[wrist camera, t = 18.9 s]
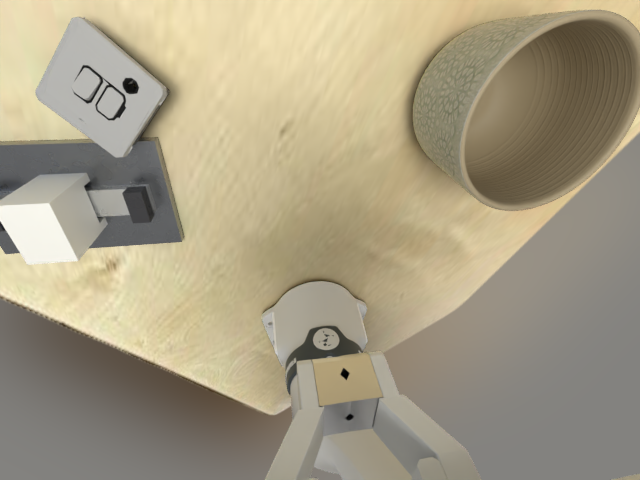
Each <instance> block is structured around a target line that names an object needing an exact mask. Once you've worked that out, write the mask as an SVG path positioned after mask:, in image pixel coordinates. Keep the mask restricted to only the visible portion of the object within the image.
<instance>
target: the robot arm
mask: <svg viewBox="0 0 640 480" xmlns="http://www.w3.org/2000/svg"><path fill="white" fill-rule="evenodd" d="M366 311H367V307H366V304H365V303H364V302H363V301H361V300H358V299H356V298H354V297H353V296H352V295H351V294H350V293H349V291H348V290H346V289H345V288H344V287H342V286H340V285H338V284H335V283H331V282H325V281H316V282H309V283H305V284H302V285H299V286H297V287H295V288H293V289H291V290H290V291H288V292H287V293H286V294H284V295H283V296H282V297H281V299H280V300H279V301H278V302H277V304H276V305H275V306H274V307H272V308H270V309H268V310H267V311H265V312H264V313H263V314H262V322H263V324H264V327H265V329H266V331H267V334H268V336H269V339H270V341H271V343H272V346H273V348H274V350H275V353H276V355H277V357H278V360H279V362H280V364H281V366H283V367H284V369H285V371H286V373H285V379H286V385H287V389H288V392H289V394H290V395H291V406H292V419H293V421H292V423H291V425H290V427H289V429H288V431H287V433H286V435H285V438H284V440H283V442H282V444H281V446H280V448H279V450H278V453H277V455H276V457H275V459H274V461H273V463H272V465H271V468H270V470H269V472H268V474H267V476H266V478H265V480H319V479H318V478H311V479H309V478H310V475H311V472H312V470H313V467H315V468H318V469H320V470H323V471H327V472H330V473H335V474H340V475H341V478H342V480H481V478H480V475H479V474H478V472H477V469H476V467H475V465H474V463H473V461H472V459H471V457H470V455H469V453H468V451H467V450H466V449H465V448H464V447H463V446H462V445H461V444H460V443H458V442H457V441H456V440H455V439H454V438H453V437H451V435H449V434H448V433H447V432H446V431H444V429H443V428H441V427H440V426H439V425H438V424H437V423H436V422H435V421H433V420H432V419H431V418H430V417H429V416H428V415H427V414H425V413H424V412H423V411H422V410H421V409H420V408H418V406H416V405H415V404H414V403H413V402H412V401H411V400H410V399H408V398H407V397H406V396H405V395H400V394H399V392H398V389H397V386H396V384H395V381H394V379H393V376H392V373H391V371H390V368H389V366H388V363H387V361H386V358H385V355H384V353H383V352H382V351H375V352H368V353H367V352H364V353H363V350H364V349H365V346H366V343H367V342H368V339H367V335H366V331H365V327H364V324H363V319H364V316H365V314H366ZM612 480H640V474H636V475H632V476H626V477H622V478H617V479H612Z"/></svg>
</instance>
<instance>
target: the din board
mask: <svg viewBox="0 0 640 480" xmlns="http://www.w3.org/2000/svg"><path fill="white" fill-rule="evenodd" d="M132 147H133V148H132V149H131V151H130V152H129V154H128V155H127V156H126V157H117V158H116V157H114V156H113V155H112V154H110V153H109V152H108V151H106V150H105V149H104V148H102V147H101V146H100V145H98V144H97V143H96V142H94V141H93V140H92V139H78V140H40V141H2V142H0V200H1V199H3V198H4V197H6V196H7V195H9V194H11V193H12V192H14V191H15V190H17V189H18V188H20V187H22V186H23V185H25V184H26V183H28V182H29V181H31V180H32V179H34V178H36V177H37V176H39V175H45V174H71V173H87V175H88V177H89V179H90V181H89V182H88V183H87V184H86V185H85V186H84V188H85V190H86V192H87V195H88V197H89V199H90V202H91V204H92V206H93V209H94V211H95V213H96V216H97V218H102V217H105V218H106V221H107V223H108V225H107V226H106V227H105V228H104V229H103V231H102V232H101V233H100V234H99V236H98V237H97V238H96V239H95V241H94V242H93V243H92V244H91V246H90V247H89V248H99V247H113V246H128V245H142V244H157V243H171V242H182V240H183V238H184V234H183V230H182V226H181V222H180V219H179V215H178V211H177V207H176V204H175V200H174V196H173V192H172V188H171V185H170V181H169V177H168V173H167V170H166V166H165V162H164V158H163V154H162V151H161V147H160V143H159V139H158V137H154V138H139V140H138V141H137V143H136V144H135V145H133V146H132ZM0 246H1V248H2V249H3V251H4V252H5V254H13V253H20V252H19V250H18V249H17V247H16V246H15V244H14V242H13V241H12V239H11V238H10V236H9V234H8V233H7V231H6V230H5V228H4V226H3V225H2V223H1V222H0Z"/></svg>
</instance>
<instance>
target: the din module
mask: <svg viewBox="0 0 640 480" xmlns="http://www.w3.org/2000/svg"><path fill="white" fill-rule="evenodd" d="M89 181H90V179H89V177H88V175H87V173H71V174H45V175H39V176H37V177H36V178H34V179H32V180H31V181H29V182H28V183H26V184H25V185H23V186H22V187H20V188H18V189H17V190H15V191H14V192H12V193H11V194H9V195H7V196H6V197H4V198H3V199H1V200H0V222H1V223H2V225H3V226H4V228H5V230H6V231H7V233H8V234H9V236H10V238H11V239H12V241H13V242H14V244H15V246H16V247H17V249H18V250H19V252H20V254H21V255H22V257H23V258H24V260H25V262H26V263H27V265H29V264H42V263H56V262H69V261H79V259H80V258H81V257H82V256H83V254H84V253H85V252H86V251H87V249H88V248H89V247H90V246H91V244H92V243H93V242H94V241H95V239H96V238H97V237H98V236H99V234H100V233H101V232H102V231H103V229H104V228H105V227H106V226H107V225H108V223H107V221H106V218H105V217H102V218H97V216H96V213H95V211H94V209H93V206H92V204H91V202H90V199H89V197H88V195H87V192H86V190H85V188H84V186H85V185H86V184H87V183H88V182H89Z"/></svg>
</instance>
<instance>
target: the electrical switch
mask: <svg viewBox="0 0 640 480" xmlns="http://www.w3.org/2000/svg"><path fill="white" fill-rule="evenodd" d="M134 83H135V84H136V86H137V88H136V89H135V88H134V86H133V84H134ZM168 91H169V90H168V89H167V88H166V87H165V86H164V85H163V84H162V83H161V82H159V81H158V80H157V79H156V78H155V77H154V76H152V75H151V74H150V73H149V72H148V71H147V70H145V69H144V68H143V67H142V66H141V65H140V64H138V63H137V62H136V61H135V60H134V59H133V58H132V57H130V56H129V55H128V54H127V53H126V52H125V51H123V50H122V49H121V48H120V47H119V46H118V45H116V44H115V43H114V42H113V41H112V40H111V39H109V38H108V37H107V36H106V35H105V34H104V33H102V32H101V31H100V30H99V29H98V28H97V27H96V26H94V25H93V24H92V23H91V22H90V21H89V20H87V19H85V18H80V17H75V18H72V19H71V21H70V23H69V25H68V27H67V29H66V31H65V33H64V35H63V37H62V39H61V41H60V43H59V45H58V47H57V49H56V51H55V53H54V55H53V57H52V59H51V61H50V63H49V65H48V67H47V69H46V71H45V73H44V75H43V77H42V79H41V81H40V83H39V85H38V87H37V89H36V96H37V98H38V100H39V101H41V102H42V103H43V104H45V105H46V106H47V107H49V108H50V109H51V110H53V111H54V112H55V113H57V114H58V115H59V116H61V117H62V118H63V119H65V120H66V121H67V122H69V123H70V124H71V125H73V126H74V127H75V128H77V129H78V130H79V131H81V132H82V133H83V134H85V135H86V136H88V137H89V138H90V139H92V140H93V141H94V142H96V143H97V144H98V145H100V146H101V147H102V148H104V149H105V150H106V151H108V152H109V153H110V154H112V155H113V156H114V157H116V158H117V157H126V156H127V155H128V154H129V152H130V151H131V149H132V148H133V147H132V146H133V145H135V144H136V143H137V141H138V140H139V138H140V137H141V135H142V134H143V132H144V131H145V129H146V128H147V126H148V124H149V123H150V121H151V120H152V118H153V117H154V115H155V114H156V112H157V111H158V109H159V108H160V106H161V105H162V103H163V102H164V100H165V99H166V97H167V95H168V94H169V92H168Z"/></svg>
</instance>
